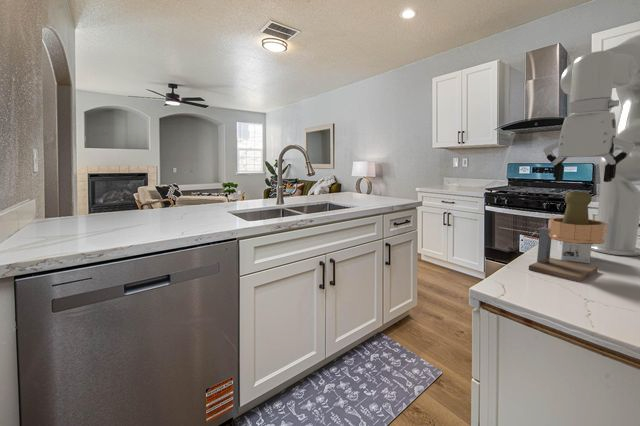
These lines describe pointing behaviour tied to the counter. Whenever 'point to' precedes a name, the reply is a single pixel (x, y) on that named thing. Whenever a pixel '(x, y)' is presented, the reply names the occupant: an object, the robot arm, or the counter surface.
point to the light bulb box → (574, 252)
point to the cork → (577, 208)
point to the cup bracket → (571, 234)
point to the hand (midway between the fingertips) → (581, 181)
